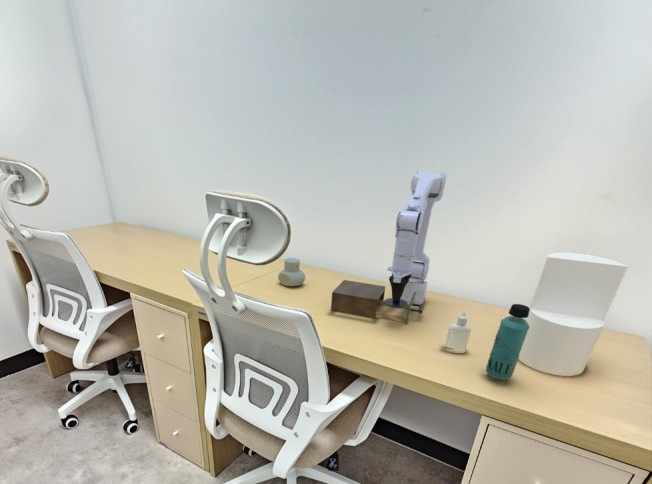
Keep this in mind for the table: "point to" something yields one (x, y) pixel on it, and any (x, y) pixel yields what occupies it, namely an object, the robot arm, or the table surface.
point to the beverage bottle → (508, 343)
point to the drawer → (397, 311)
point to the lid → (396, 303)
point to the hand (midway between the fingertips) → (396, 298)
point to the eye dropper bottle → (458, 335)
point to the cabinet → (357, 298)
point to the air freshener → (291, 273)
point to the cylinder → (569, 311)
